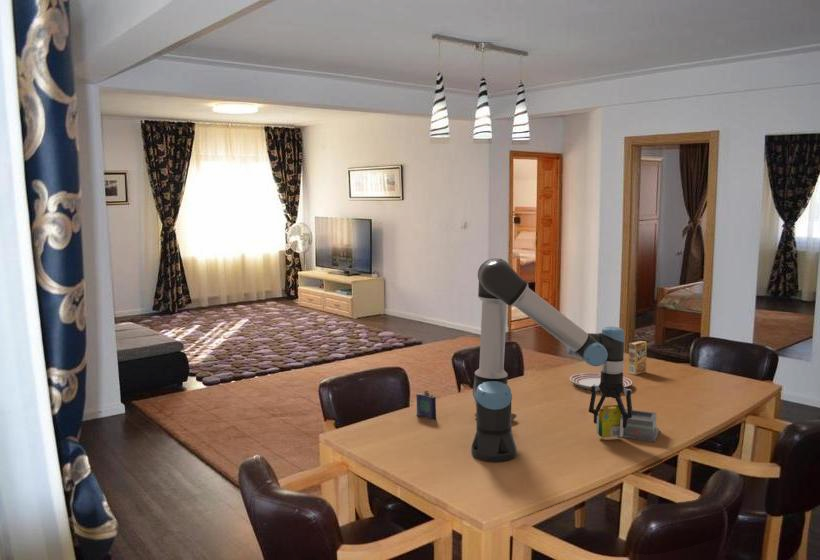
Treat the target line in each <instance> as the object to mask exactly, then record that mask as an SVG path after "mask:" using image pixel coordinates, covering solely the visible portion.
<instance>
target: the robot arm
mask: <svg viewBox="0 0 820 560" xmlns="http://www.w3.org/2000/svg"><path fill="white" fill-rule="evenodd" d="M477 280H478V288H477V289H478V295H477V296H478V298H479V299H480V301H481V319H480V320H481V321H480V322H481V323H480V346H479V363H478V364H479V368H478V369H476V370H475V371H474V380H473V381H474V382H473V387H472V396H473V397H472V398H473V399H474V403H475V409H476V410H475V411H476V412H475V413H476V417H475V418H476V429H475V430H476V432H475V434H474V437H473V440H472V444H471V448H470V449H471V450H470V451H471V455H472V457H474V458H475V459H477V460H480V461H483V462H490V463H501V462H502V463H504V462H508V461H511V460H513V459H515V458H516V456H517V452H518V451H517V446H516V445H517V444H516V442H515V439H514V435H513V432H512V421H511V413H512V401H513V400H512V399H513V394H512V389H511V387H510V386H509V385H508V376H509V375H508V372H506V371H505V366H504V365H505V352H506V351H505V349H506V347H505V346H506V329H507V328H506V327H507V309H508V307H507V306H509V307H515V308H516V309H518V310H519V311H521V313H523V314H525V315H526V316H527V317H528V318H530V319H531V320H532V321H534V322H535V324H537V325H539V326H540V327H541V328H543V329H544V330H545V331H546V332H548V333H549V334H550V335H552V336H553V337H554V338H556V339H557V340H558V341H559V342H561V343H562V344H563V345H564V346H566V350H567V351H566V352H567V353H568V354H569V355H573V356H578V357H580V358H581V359H582V360H584V362H585V363H586V364H588V365H590V366H592V367H600V370H601V371H600V373H601V381H600V384H599V385H592V387H591V390H590V391H591V396H590V402H589V407H588V413H591V414H593V424H596V432H595V433H596V434H597V435H599V409H602V407H603V406H602V405H603V404H604V402H605V400H606V398H612V399H615V401H616V405H618V406H619V409H620V412H621V416H622V417H621V419H620V437H619V438H624V437H623V429H624V428H626V426H627V419H628V418H632V416H633V412H632V410H633V407H632V406H633V404H632V392H633V389H632V388H627V387H626V388H624V386H623V377H624V372H623V371H624V356H625V354H624V353H625V343H626V342H625V331H624V329H623V328H621V327H617V326H603V328H602V329H601V332H599V333H596V332H595V333H594V332H593V333H591V332H589V333H587V332H586V331H585V330H584V329H582V328H581V327H580V326H579V325H577V324H576V323H574V322H573V321H572V320H570V319H569V318H568V317H567V316H566V315H564V314H563V313H562V312H561V311H559V310H558V309H557V308H555V307H554V306H553V305H551V304H550V303H549V302H548V301H547V300H545V299H544V298H542V297H541V296H540V295H539V294H538V293H536V292H535V291H534V290H532V288H530V287H529V283H528V282H527V281H526V280H524V279H523V277H521V276H520V275H519V274H518V273H517V272H516V270H515V269H513V267H512V266H511V265H510V264H509V263H508V262H507V261H506V260H504V259H502V258H498V257H497V258H496V257H495V258H490V259H487V260H485V261H484V262H483V263H481V265H480V266H479V268H478V270H477ZM598 388H600V390H601V391H600V392H601V393H602V395H601V397H600V399H599V401H598V404H597V405H596V408H595V403H596V397H597V392H599V391H598ZM623 392H624V395H625V400H626V408H625V405H624V403H623V400H622V397H621V394H622V393H623ZM625 409H627V410H628V414H627V413H626V410H625Z"/></svg>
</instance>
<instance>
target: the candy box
mask: <svg viewBox="0 0 820 560" xmlns="http://www.w3.org/2000/svg"><path fill="white" fill-rule="evenodd" d="M647 344H648V343H647V341H643V340H637V341H632V342H629V343H628V374H630V375H639V374H643V373H646V372H647Z"/></svg>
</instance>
